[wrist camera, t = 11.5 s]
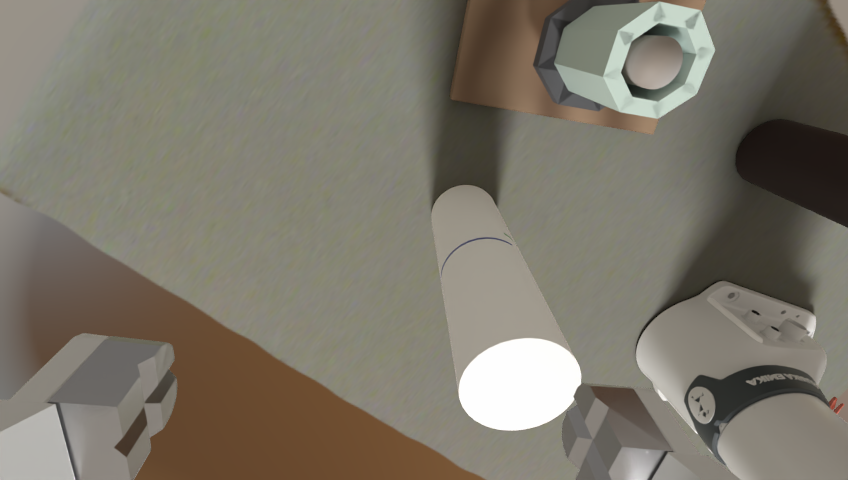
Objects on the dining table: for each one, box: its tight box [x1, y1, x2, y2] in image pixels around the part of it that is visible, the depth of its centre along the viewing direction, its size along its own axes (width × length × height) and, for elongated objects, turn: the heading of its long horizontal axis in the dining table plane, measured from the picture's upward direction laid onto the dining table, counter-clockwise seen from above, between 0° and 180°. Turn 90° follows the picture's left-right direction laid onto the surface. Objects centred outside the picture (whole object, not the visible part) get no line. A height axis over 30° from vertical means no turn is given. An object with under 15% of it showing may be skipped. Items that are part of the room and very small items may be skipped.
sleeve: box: [554, 1, 715, 119], centre depth 31 cm, size 6×6×10 cm
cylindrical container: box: [431, 185, 581, 430], centre depth 37 cm, size 7×7×25 cm
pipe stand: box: [450, 0, 706, 134], centre depth 34 cm, size 20×12×16 cm, turn 80°
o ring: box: [533, 0, 640, 112], centre depth 36 cm, size 9×9×2 cm
